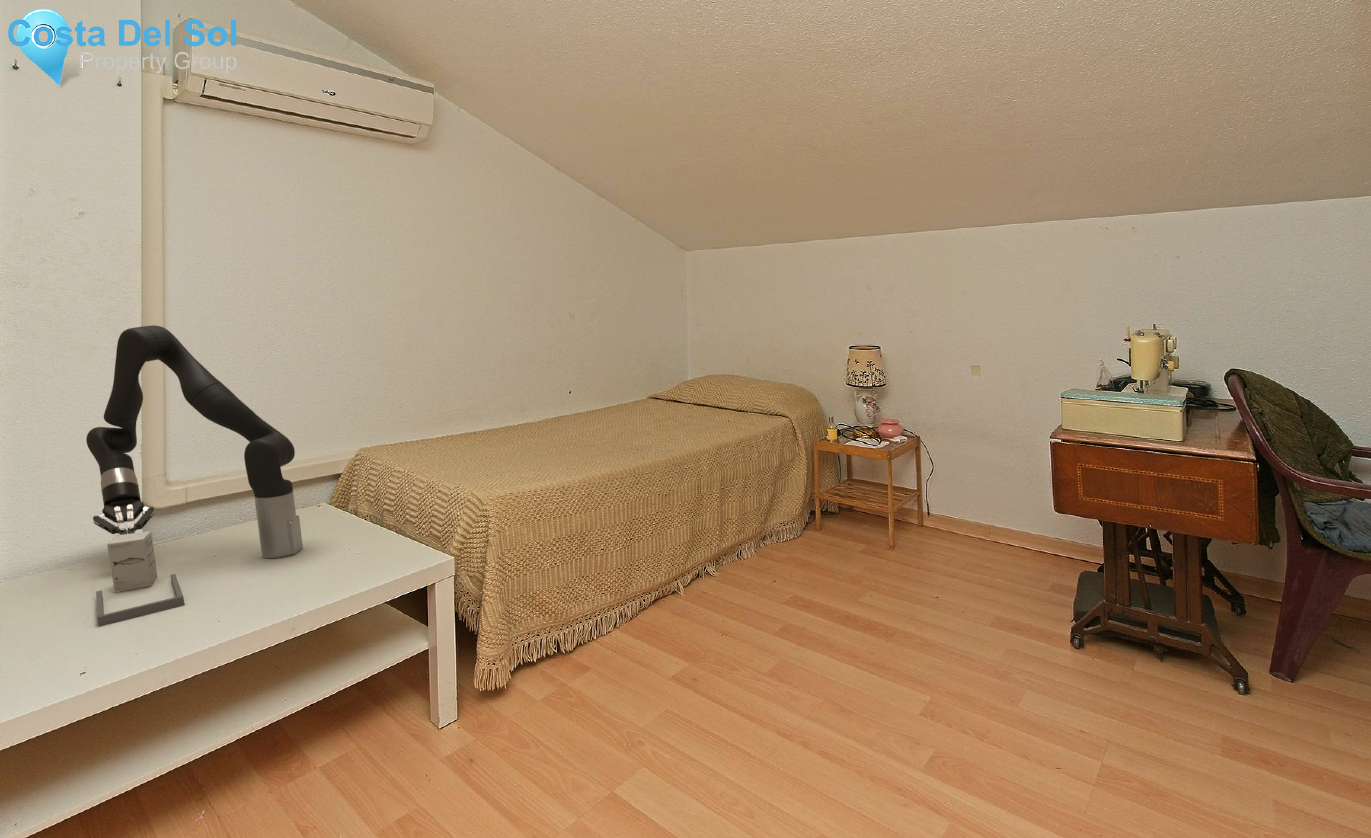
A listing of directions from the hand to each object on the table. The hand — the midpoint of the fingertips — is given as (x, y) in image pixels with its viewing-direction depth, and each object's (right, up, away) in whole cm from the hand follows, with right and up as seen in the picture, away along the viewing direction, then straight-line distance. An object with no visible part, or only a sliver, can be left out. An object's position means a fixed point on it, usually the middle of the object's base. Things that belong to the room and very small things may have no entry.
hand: (129, 543), depth 169 cm
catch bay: (+16, -11, -15) cm, 24 cm away
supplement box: (+6, -9, -5) cm, 12 cm away
